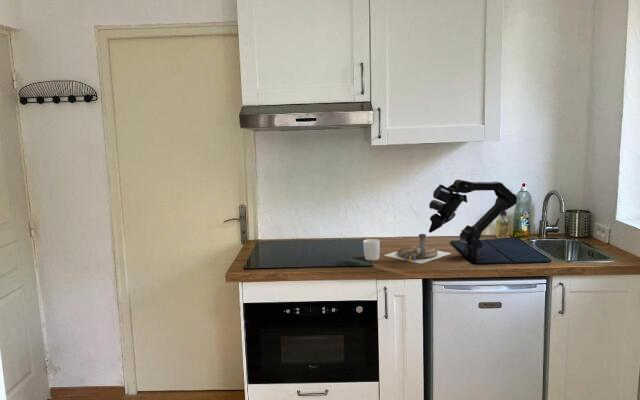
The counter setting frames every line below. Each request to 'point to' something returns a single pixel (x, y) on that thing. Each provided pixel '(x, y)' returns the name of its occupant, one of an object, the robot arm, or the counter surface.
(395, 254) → the base
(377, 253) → the white cup
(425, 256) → the dial
